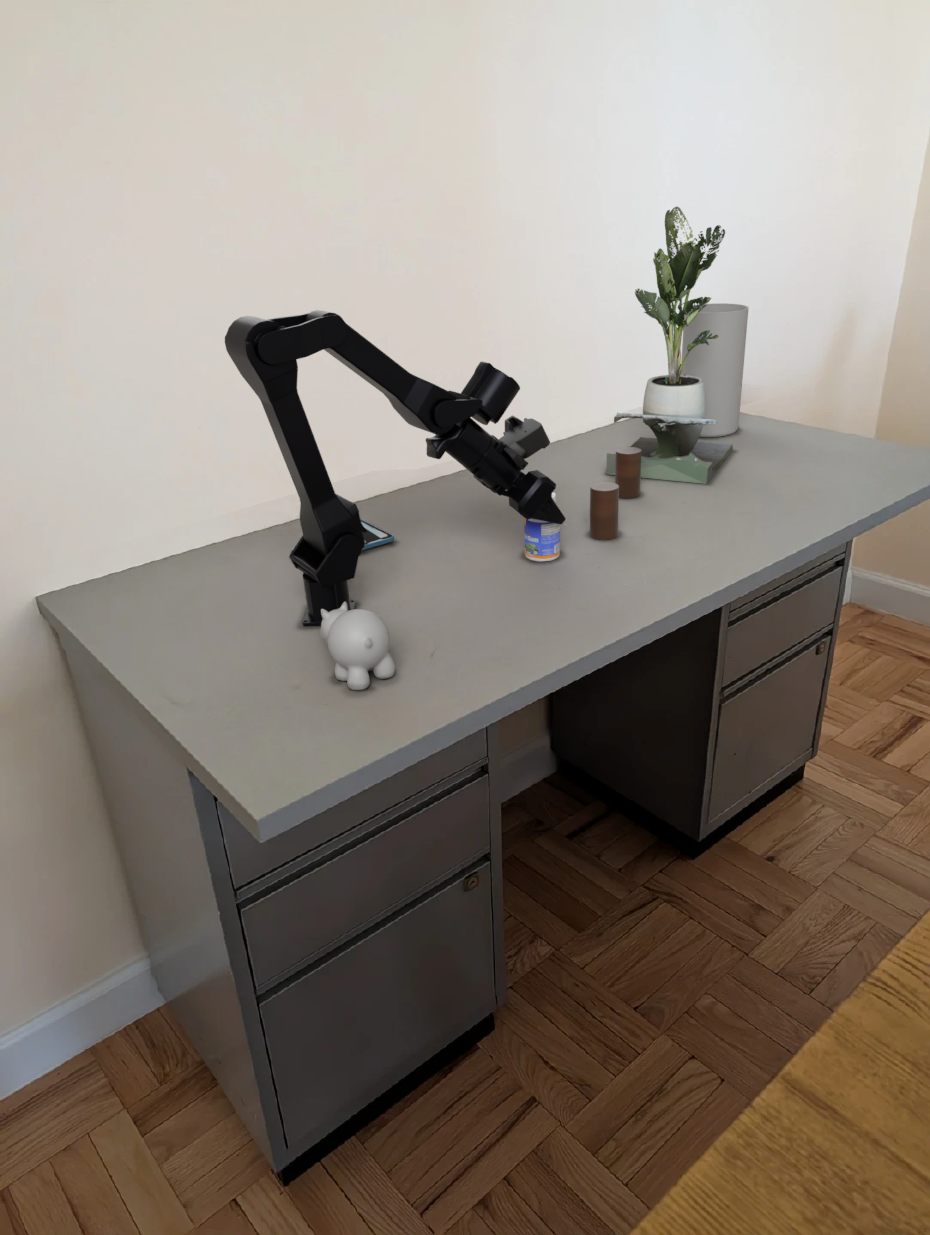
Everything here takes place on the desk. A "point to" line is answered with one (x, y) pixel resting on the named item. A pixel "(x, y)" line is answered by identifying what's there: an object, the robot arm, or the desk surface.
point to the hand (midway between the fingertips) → (550, 512)
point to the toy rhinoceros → (357, 645)
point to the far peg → (628, 471)
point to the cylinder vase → (718, 363)
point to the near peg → (604, 510)
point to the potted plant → (677, 369)
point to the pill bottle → (541, 539)
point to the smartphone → (375, 535)
